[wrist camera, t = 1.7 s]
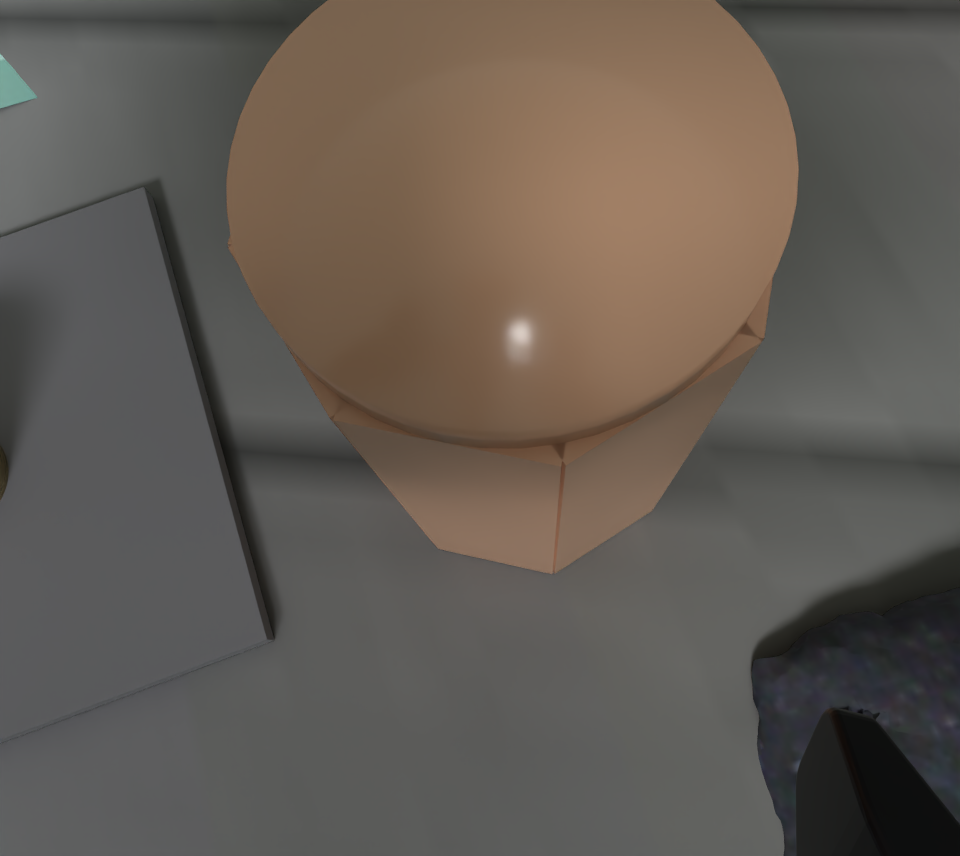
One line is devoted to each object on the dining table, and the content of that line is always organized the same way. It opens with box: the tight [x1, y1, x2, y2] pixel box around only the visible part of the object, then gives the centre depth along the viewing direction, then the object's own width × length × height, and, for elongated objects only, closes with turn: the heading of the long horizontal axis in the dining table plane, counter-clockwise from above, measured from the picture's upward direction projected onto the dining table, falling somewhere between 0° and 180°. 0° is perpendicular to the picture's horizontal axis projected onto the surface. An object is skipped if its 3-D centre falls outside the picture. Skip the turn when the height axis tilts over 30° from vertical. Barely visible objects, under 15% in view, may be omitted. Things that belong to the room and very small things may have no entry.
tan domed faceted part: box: [227, 0, 799, 574], centre depth 16 cm, size 7×7×12 cm
